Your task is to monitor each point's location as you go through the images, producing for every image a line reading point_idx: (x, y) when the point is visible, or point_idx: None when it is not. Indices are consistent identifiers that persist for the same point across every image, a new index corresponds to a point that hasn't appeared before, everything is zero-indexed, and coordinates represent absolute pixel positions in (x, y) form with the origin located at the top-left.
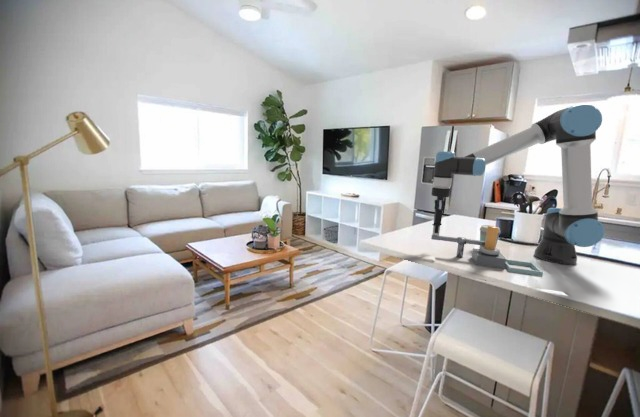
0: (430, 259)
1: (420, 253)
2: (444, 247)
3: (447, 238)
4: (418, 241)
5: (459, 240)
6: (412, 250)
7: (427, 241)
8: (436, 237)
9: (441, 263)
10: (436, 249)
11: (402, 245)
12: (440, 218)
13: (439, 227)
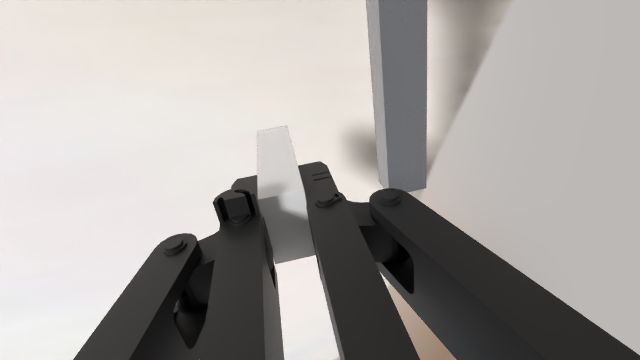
0: (440, 110)
1: (354, 178)
2: (68, 61)
3: (423, 45)
4: (78, 247)
5: None
6: None
7: (8, 202)
8: (422, 147)
9: (488, 40)
10: (189, 110)
11: None
12: (484, 262)
13: (302, 185)
